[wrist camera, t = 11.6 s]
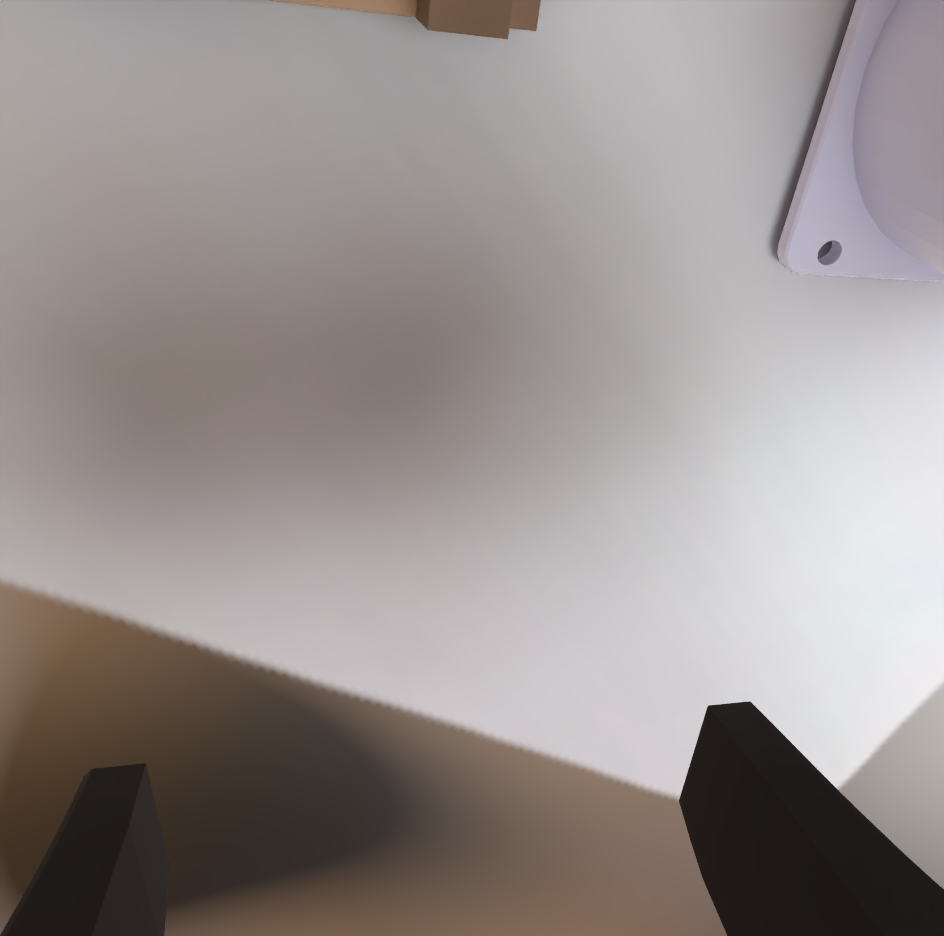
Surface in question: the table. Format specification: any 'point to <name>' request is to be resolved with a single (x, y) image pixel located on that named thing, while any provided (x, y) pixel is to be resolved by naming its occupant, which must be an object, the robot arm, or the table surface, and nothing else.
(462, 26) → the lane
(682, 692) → the table surface
